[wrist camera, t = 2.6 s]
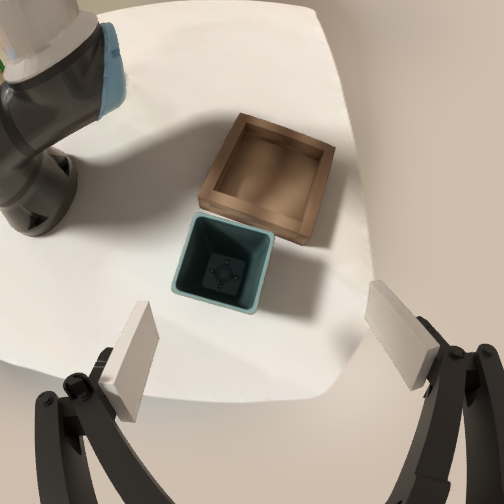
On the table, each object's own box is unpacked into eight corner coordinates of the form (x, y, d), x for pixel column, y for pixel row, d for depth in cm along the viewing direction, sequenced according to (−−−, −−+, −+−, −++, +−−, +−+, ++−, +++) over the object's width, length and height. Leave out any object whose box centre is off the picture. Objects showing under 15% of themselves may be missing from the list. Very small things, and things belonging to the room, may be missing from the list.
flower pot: (248, 316, 36) (255, 316, 27) (182, 298, 36) (169, 291, 27) (264, 252, 38) (276, 232, 30) (201, 234, 38) (194, 210, 29)
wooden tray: (199, 207, 39) (197, 196, 35) (238, 128, 43) (240, 112, 39) (302, 245, 39) (310, 237, 35) (327, 160, 43) (335, 147, 39)
